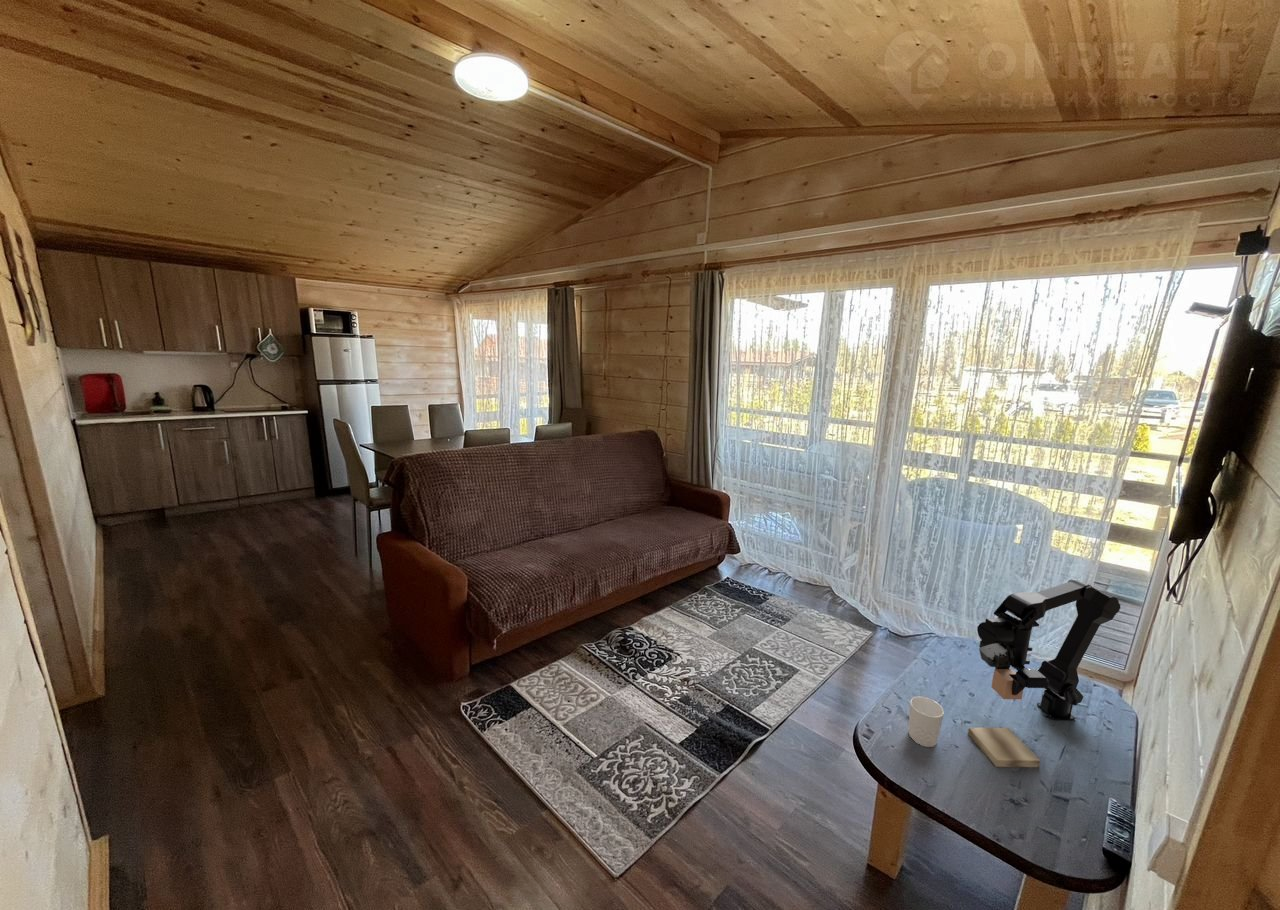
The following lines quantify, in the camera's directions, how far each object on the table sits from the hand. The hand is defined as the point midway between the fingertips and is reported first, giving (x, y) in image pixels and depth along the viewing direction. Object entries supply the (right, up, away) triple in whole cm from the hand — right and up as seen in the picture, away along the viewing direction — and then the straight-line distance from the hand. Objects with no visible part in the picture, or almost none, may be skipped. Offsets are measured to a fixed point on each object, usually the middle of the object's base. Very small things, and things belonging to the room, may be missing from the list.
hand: (1007, 688), depth 138 cm
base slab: (-8, -12, -9) cm, 17 cm away
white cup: (-27, -12, -4) cm, 30 cm away
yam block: (0, -2, 0) cm, 2 cm away
